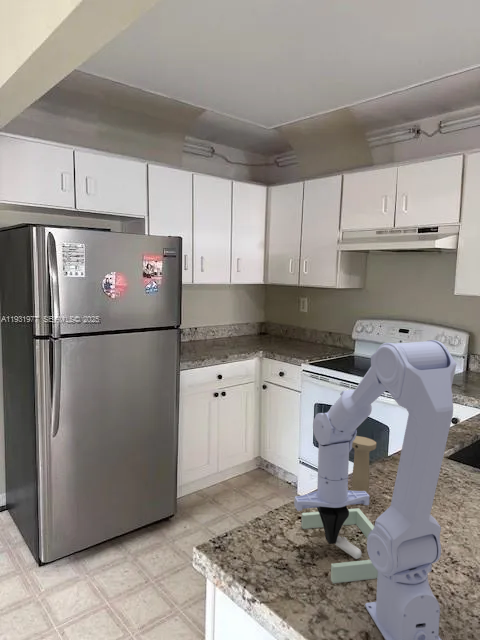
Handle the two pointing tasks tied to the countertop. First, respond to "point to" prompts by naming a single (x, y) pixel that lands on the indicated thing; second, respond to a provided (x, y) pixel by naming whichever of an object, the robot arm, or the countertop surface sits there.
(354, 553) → the small white plastic part
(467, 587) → the countertop surface
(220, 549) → the countertop surface
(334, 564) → the light green u-shaped bracket
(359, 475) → the handle
